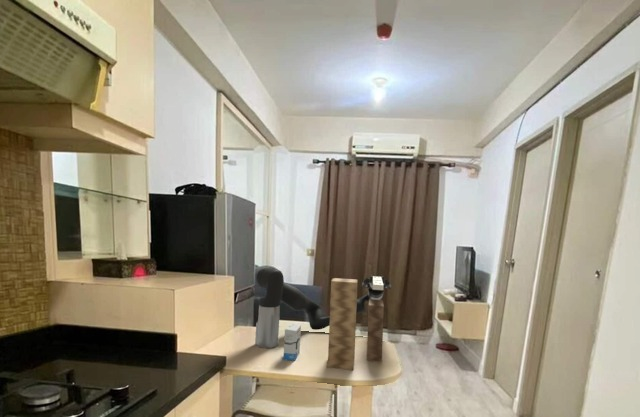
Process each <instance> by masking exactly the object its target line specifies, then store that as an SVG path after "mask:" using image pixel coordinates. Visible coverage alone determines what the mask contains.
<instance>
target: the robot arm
mask: <svg viewBox="0 0 640 417" xmlns="http://www.w3.org/2000/svg"><path fill="white" fill-rule="evenodd" d="M255 278H256V279H255V280H256V283H257V285H258V286H259V287H260V289H261V288H262V289H263V290H265V291H266V294H265V296H263V297H262V296H261V297H260V298H259V301H258V319H257V321H256V324H255V338H254V341H255V342H254V345H256V346H258V347H259V348H263V349H271V348H272V349H273V348H275V347H277V346H279V334H280V333H279V330H280V314H281V312H280V309H281V302H282V303H283V304H285V305H286V307H288V308H289V309H291V310H292V311H295V312H301V311H303V312H305V313H306V316H307V318H308V323H309V326H310V329H312V330H314V331H315V330H316V331H317V330H322V329H325V328H327V327H329V324H330V315H328V316H326V311H325V309H324V307H323V306H321V305H319V304H318V303H316V302H315V301H313V300H312V299H311V298H309V297H308V296H306V295H305V293H303V292H302V291H301V290H300V289H298V288H297V287H295V286H294V285H290V284H288V283H286V282H284V274H283V272H282V271H281V270H280V269H274V268H271V267H270V268H269V267H264V268H261V269H259V270H258V272H257V273H256V277H255ZM381 278H382V281H383V285H384V287H383V290H373V275H371V276H369V278H367V277H366V278H365V279H364V280H362V282H361V287H362V288H366V287H367V293H366V294H364V295H363V296H361V297H359V298H357V307H356V315H358V314H362V313H364V312H365V311H366V307H365V303H366V302H367V305H369V299H374V300H383V296H384V293H385V292H384V291H385V289H388V290H391V289H392V284H391V282H390V280H389V279H386V278H385V277H384V276H383V275H382V276H381Z"/></svg>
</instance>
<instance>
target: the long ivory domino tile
mask: <svg viewBox="0 0 640 417" xmlns="http://www.w3.org/2000/svg"><path fill="white" fill-rule="evenodd" d="M372 276H373V275H372ZM383 287H384V285H383V281H382V276H373V290H383Z"/></svg>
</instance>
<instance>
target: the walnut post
mask: <svg viewBox="0 0 640 417" xmlns="http://www.w3.org/2000/svg"><path fill="white" fill-rule="evenodd" d="M384 305H385V304H384V301H383V299H382V300H374V299H369V304H368V313H367V316H368V317H367V338H366V339H367V340H366V341H367V342H366V361H370V362H371V361H373V362H381V361H382V362H383V340H384V339H383V338H384V311H385V310H384V308H385V306H384Z"/></svg>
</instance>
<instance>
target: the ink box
mask: <svg viewBox="0 0 640 417" xmlns="http://www.w3.org/2000/svg"><path fill="white" fill-rule="evenodd" d="M301 328H302V325H301V324H295V323H289V324H288V326H286V327H285V329H284V340H283V360H286V361H296V359H297V358H298V356H299V355H300V351H301V349H300V347H301V335H302V332H301V330H302V329H301Z"/></svg>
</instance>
